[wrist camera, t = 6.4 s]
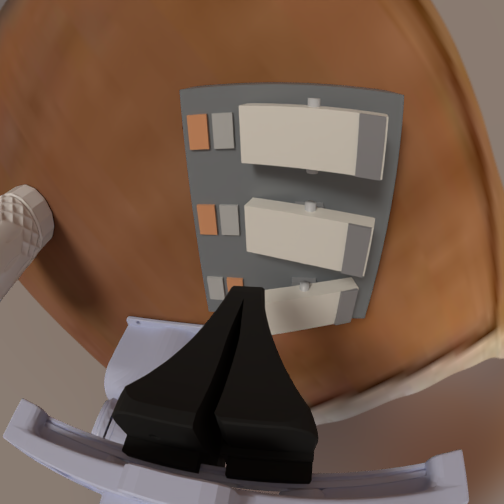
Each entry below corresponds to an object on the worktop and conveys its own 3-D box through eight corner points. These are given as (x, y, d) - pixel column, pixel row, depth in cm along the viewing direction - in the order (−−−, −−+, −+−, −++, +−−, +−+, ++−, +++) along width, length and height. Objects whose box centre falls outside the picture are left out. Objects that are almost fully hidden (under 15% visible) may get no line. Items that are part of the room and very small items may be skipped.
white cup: (44, 172, 22) (-35, 230, 13) (69, 247, 26) (9, 316, 18) (0, 183, 23) (-66, 234, 15) (24, 247, 27) (-30, 304, 19)
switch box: (217, 285, 26) (207, 316, 23) (196, 86, 17) (175, 90, 14) (358, 291, 24) (365, 323, 21) (387, 90, 16) (407, 96, 12)
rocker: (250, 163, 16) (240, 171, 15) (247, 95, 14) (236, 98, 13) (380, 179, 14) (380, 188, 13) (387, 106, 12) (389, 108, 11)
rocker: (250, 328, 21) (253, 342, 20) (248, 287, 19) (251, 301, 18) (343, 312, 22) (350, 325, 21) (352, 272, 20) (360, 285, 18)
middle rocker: (254, 246, 19) (245, 258, 18) (252, 190, 17) (242, 200, 16) (365, 269, 17) (362, 283, 16) (376, 211, 15) (374, 222, 14)
